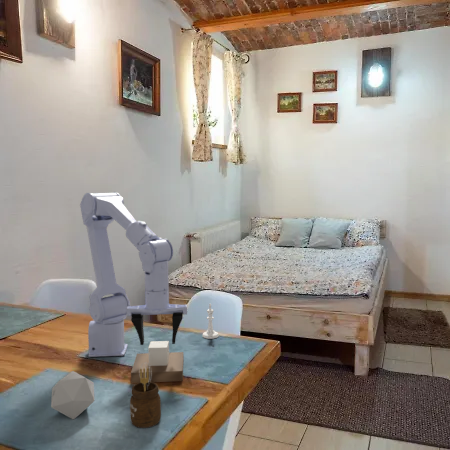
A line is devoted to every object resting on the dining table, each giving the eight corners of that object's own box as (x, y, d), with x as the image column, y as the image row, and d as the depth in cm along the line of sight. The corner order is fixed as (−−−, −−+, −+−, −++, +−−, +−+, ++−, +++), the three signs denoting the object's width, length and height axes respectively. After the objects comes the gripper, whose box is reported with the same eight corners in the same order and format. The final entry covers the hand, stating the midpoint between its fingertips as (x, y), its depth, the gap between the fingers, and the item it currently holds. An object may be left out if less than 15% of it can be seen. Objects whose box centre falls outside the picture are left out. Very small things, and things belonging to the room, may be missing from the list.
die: (68, 403, 99) (41, 377, 94) (103, 382, 100) (77, 355, 95) (68, 434, 92) (38, 408, 87) (105, 412, 93) (77, 385, 88)
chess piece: (219, 333, 142) (219, 301, 141) (217, 339, 137) (217, 306, 136) (203, 333, 143) (203, 301, 142) (201, 338, 138) (200, 305, 137)
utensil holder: (160, 412, 94) (159, 355, 93) (161, 428, 87) (160, 367, 86) (131, 414, 93) (129, 357, 92) (129, 431, 86) (127, 369, 85)
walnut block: (131, 385, 108) (130, 372, 107) (137, 364, 120) (137, 353, 119) (182, 383, 108) (182, 370, 108) (183, 363, 120) (183, 352, 120)
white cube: (148, 365, 111) (148, 347, 111) (151, 358, 116) (150, 341, 115) (167, 365, 111) (167, 347, 111) (169, 358, 116) (168, 341, 115)
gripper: (124, 293, 108) (126, 350, 109) (186, 292, 109) (187, 347, 110) (128, 286, 115) (129, 339, 116) (186, 285, 116) (187, 337, 117)
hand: (158, 343), depth 113 cm, fingers open, 7 cm apart
